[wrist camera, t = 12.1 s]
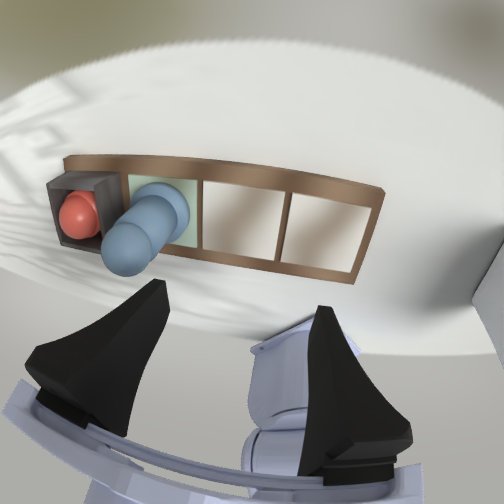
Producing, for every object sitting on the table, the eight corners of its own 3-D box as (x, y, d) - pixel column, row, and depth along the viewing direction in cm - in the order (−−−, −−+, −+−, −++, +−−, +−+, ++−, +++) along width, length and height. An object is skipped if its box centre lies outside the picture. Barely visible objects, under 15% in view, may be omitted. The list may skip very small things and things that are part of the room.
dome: (108, 184, 19) (79, 205, 16) (115, 228, 21) (90, 254, 18) (73, 182, 19) (44, 201, 16) (81, 223, 21) (55, 246, 18)
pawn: (167, 247, 22) (127, 307, 16) (126, 208, 20) (73, 258, 14) (202, 213, 19) (163, 273, 14) (157, 169, 18) (99, 212, 12)
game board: (381, 188, 17) (399, 212, 14) (352, 276, 22) (359, 310, 19) (70, 155, 19) (39, 170, 16) (83, 232, 24) (59, 254, 20)
